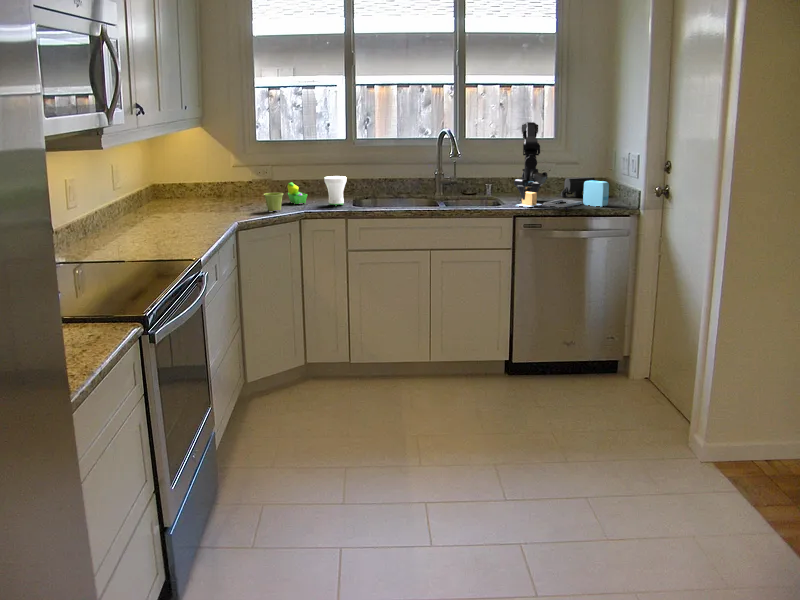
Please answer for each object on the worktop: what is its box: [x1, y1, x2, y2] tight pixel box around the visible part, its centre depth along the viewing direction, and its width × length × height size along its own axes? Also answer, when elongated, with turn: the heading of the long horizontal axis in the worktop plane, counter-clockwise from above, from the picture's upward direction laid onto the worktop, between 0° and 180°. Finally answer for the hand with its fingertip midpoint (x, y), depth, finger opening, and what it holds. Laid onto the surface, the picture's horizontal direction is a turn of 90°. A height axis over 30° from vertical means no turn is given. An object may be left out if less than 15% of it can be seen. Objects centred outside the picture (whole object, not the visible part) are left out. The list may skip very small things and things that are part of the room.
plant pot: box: [263, 192, 284, 211], centre depth 376 cm, size 9×9×9 cm
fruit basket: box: [287, 182, 308, 205], centre depth 401 cm, size 11×9×11 cm
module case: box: [542, 198, 583, 208], centre depth 386 cm, size 12×16×2 cm
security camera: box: [560, 176, 596, 199], centre depth 413 cm, size 7×18×10 cm, turn 104°
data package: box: [582, 180, 610, 208], centre depth 382 cm, size 12×4×12 cm, turn 38°
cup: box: [323, 175, 348, 207], centre depth 393 cm, size 11×11×14 cm
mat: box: [515, 203, 543, 208], centre depth 385 cm, size 9×10×1 cm
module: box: [521, 192, 538, 206], centre depth 384 cm, size 6×4×6 cm, turn 45°
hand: (529, 198), depth 384 cm, fingers open, 9 cm apart
